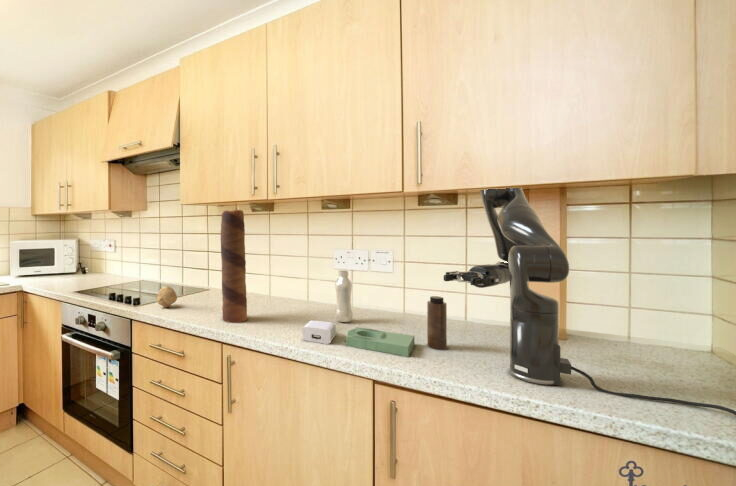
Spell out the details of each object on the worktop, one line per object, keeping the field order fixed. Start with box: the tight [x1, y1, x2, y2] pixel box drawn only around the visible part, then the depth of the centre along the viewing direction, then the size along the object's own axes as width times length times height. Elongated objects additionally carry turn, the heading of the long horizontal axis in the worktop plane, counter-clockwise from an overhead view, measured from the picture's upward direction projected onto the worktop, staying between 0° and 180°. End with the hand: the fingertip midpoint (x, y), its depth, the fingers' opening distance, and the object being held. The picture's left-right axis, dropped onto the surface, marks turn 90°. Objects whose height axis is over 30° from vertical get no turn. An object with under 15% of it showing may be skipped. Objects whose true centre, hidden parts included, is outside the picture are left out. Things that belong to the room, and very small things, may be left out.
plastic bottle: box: [334, 270, 354, 323], centre depth 143 cm, size 6×7×20 cm
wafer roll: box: [220, 209, 248, 323], centre depth 147 cm, size 10×11×45 cm
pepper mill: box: [426, 295, 448, 351], centre depth 113 cm, size 5×5×16 cm
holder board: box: [345, 326, 416, 358], centre depth 116 cm, size 19×12×3 cm, turn 55°
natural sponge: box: [156, 285, 178, 308], centre depth 171 cm, size 9×9×10 cm
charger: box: [301, 320, 337, 345], centre depth 125 cm, size 5×9×15 cm
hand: (457, 279), depth 118 cm, fingers open, 8 cm apart
